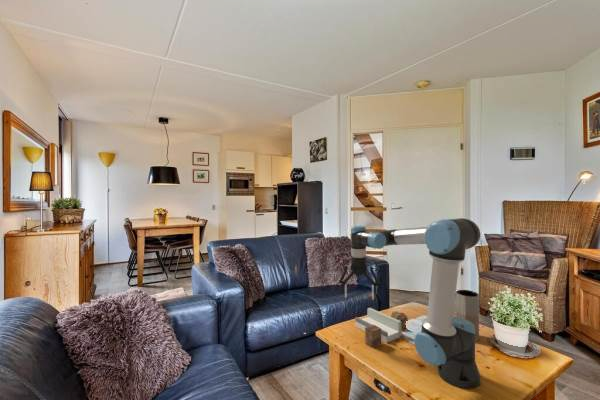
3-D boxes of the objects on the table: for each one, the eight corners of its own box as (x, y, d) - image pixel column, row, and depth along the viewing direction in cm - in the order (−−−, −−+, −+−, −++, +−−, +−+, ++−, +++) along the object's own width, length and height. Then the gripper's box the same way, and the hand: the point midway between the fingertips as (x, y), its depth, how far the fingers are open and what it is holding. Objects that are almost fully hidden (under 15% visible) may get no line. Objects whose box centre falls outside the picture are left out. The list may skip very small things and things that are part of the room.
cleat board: (401, 336, 148) (401, 321, 148) (386, 342, 142) (386, 327, 142) (370, 321, 167) (369, 307, 167) (355, 326, 161) (355, 312, 161)
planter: (482, 342, 142) (482, 296, 141) (461, 340, 143) (460, 295, 143) (473, 332, 151) (473, 290, 151) (453, 331, 153) (453, 289, 153)
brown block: (381, 344, 141) (381, 328, 141) (371, 348, 137) (371, 332, 137) (373, 340, 145) (373, 324, 145) (363, 344, 142) (363, 328, 141)
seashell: (383, 322, 164) (391, 306, 165) (395, 328, 166) (402, 312, 168) (395, 330, 154) (402, 313, 155) (407, 336, 156) (414, 319, 158)
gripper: (383, 255, 147) (384, 296, 147) (334, 254, 152) (335, 293, 152) (384, 258, 139) (385, 302, 140) (333, 257, 145) (334, 298, 145)
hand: (359, 297), depth 146 cm, fingers open, 13 cm apart
